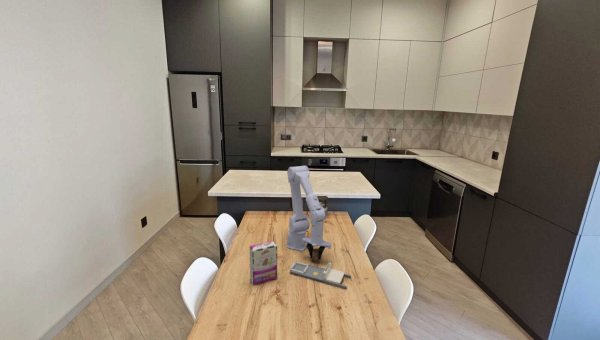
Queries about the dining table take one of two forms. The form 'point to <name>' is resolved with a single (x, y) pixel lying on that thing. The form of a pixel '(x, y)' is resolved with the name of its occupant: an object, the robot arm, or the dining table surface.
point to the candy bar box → (263, 262)
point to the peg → (315, 255)
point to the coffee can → (323, 201)
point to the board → (312, 273)
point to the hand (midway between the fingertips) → (315, 258)
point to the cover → (332, 275)
